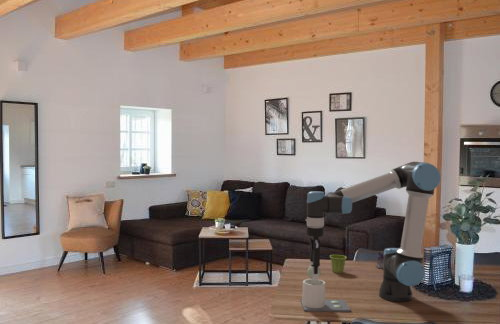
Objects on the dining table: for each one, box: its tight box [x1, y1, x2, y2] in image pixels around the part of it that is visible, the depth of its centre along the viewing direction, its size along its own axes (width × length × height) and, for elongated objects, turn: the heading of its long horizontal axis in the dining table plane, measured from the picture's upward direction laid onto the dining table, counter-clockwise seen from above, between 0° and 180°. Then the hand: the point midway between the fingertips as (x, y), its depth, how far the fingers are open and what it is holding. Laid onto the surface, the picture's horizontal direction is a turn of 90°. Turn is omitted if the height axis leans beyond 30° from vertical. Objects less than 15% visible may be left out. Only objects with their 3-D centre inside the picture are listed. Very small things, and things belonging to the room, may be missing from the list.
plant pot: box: [329, 254, 348, 274], centre depth 262 cm, size 9×9×9 cm
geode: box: [375, 251, 384, 270], centre depth 276 cm, size 20×12×10 cm, turn 128°
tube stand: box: [300, 278, 351, 313], centre depth 206 cm, size 20×13×11 cm, turn 91°
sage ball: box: [306, 265, 322, 279], centre depth 206 cm, size 6×6×6 cm
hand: (314, 278), depth 206 cm, fingers open, 6 cm apart
